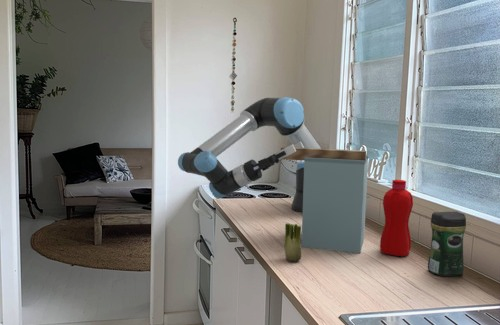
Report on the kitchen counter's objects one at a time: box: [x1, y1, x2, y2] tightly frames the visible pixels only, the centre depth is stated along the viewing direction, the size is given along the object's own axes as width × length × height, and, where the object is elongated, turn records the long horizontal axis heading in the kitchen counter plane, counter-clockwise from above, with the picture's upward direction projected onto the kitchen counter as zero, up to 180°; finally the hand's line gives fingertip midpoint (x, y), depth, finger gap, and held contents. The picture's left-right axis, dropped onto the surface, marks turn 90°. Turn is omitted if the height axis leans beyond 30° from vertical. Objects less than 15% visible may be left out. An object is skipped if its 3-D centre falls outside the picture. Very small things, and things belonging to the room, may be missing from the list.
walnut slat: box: [280, 146, 367, 163], centre depth 161 cm, size 29×4×4 cm, turn 72°
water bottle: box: [379, 179, 414, 257], centre depth 157 cm, size 9×11×25 cm
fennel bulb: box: [284, 222, 303, 263], centre depth 147 cm, size 6×5×12 cm
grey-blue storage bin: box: [301, 155, 369, 254], centre depth 166 cm, size 18×20×31 cm
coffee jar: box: [427, 211, 467, 277], centre depth 139 cm, size 10×8×19 cm
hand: (298, 146), depth 163 cm, fingers open, 13 cm apart
